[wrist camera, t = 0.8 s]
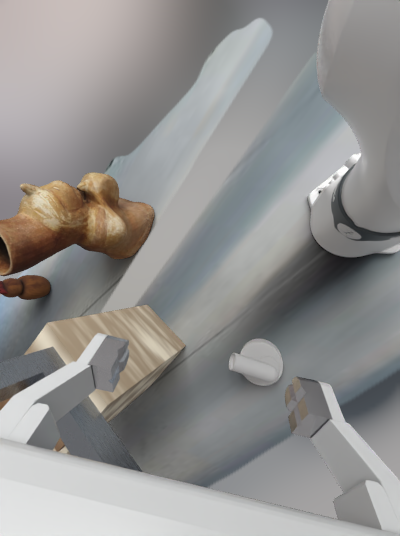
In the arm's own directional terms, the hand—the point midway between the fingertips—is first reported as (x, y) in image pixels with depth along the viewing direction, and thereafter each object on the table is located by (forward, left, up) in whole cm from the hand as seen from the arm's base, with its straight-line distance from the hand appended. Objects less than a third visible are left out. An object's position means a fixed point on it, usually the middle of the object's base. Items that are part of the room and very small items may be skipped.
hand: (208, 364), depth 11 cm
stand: (+26, -12, -38) cm, 48 cm away
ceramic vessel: (+10, -35, -38) cm, 53 cm away
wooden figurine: (+39, -48, -38) cm, 73 cm away
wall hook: (+9, +8, -38) cm, 40 cm away
